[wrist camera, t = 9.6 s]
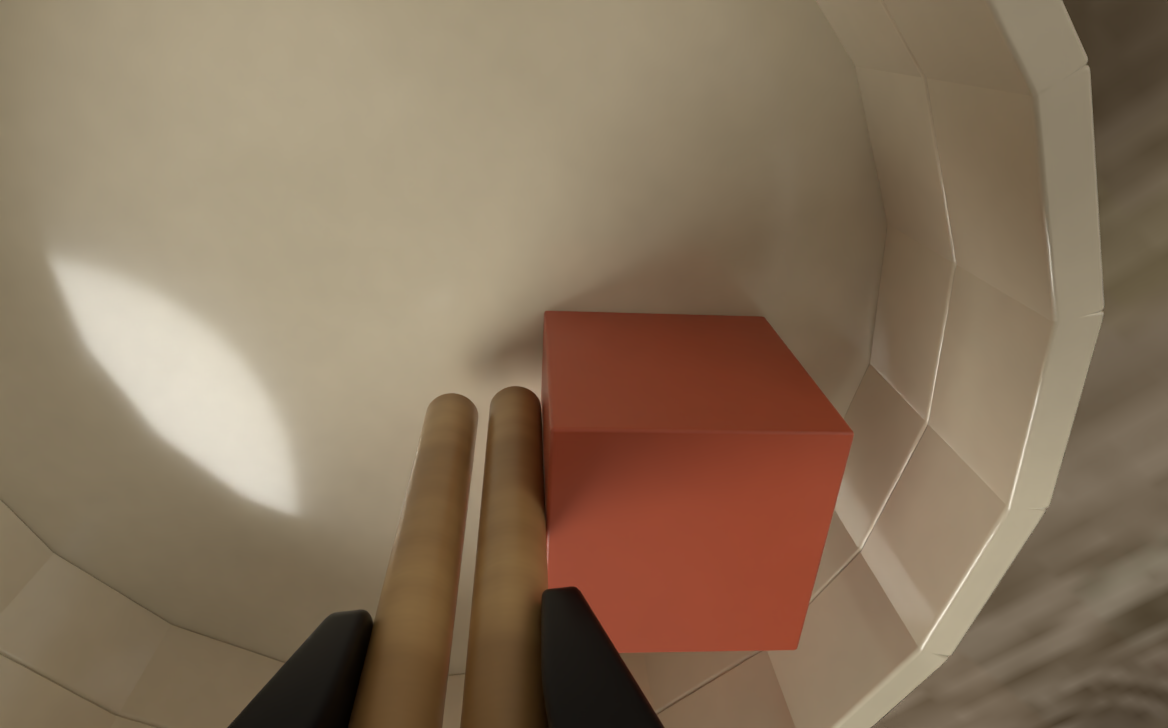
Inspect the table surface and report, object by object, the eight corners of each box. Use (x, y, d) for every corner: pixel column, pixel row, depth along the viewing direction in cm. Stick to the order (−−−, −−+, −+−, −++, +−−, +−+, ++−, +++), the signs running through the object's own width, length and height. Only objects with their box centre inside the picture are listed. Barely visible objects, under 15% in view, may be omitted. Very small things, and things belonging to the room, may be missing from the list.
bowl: (847, 629, 17) (955, 842, 13) (97, 707, 17) (-58, 957, 12) (984, -376, 9) (1407, -738, 5) (-463, -284, 9) (-1505, -595, 4)
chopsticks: (549, 428, 13) (634, 1899, 3) (425, 441, 13) (65, 1990, 3) (543, 379, 12) (620, 1926, 2) (415, 392, 12) (-63, 2046, 2)
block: (731, 494, 15) (798, 651, 11) (537, 494, 14) (540, 656, 11) (765, 315, 13) (856, 432, 9) (544, 308, 12) (550, 429, 9)
